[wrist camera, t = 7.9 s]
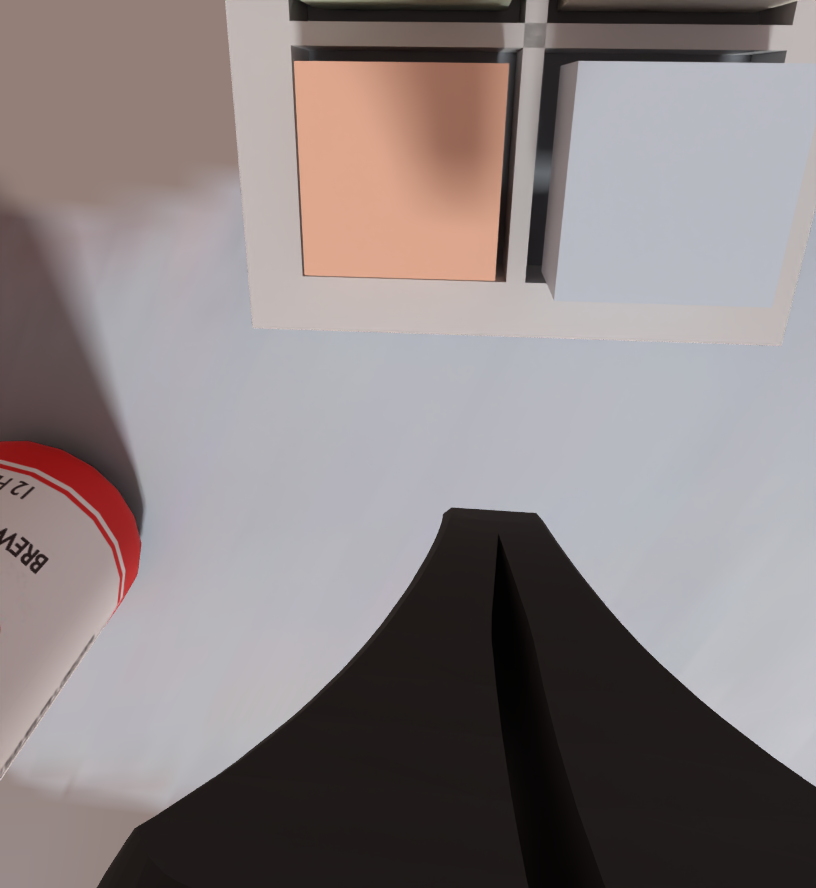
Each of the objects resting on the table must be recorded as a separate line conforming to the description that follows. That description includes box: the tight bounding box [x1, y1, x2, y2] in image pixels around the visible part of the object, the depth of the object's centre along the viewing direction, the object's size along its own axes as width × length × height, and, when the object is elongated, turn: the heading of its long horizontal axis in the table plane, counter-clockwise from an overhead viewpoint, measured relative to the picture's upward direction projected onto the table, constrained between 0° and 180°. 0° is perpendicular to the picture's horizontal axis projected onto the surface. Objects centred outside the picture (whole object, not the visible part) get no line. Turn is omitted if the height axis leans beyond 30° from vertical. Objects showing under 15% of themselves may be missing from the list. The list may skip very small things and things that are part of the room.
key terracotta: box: [294, 61, 509, 281], centre depth 15 cm, size 4×4×2 cm
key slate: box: [541, 61, 816, 308], centre depth 13 cm, size 4×4×2 cm
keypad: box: [225, 0, 816, 346], centre depth 15 cm, size 12×12×3 cm
